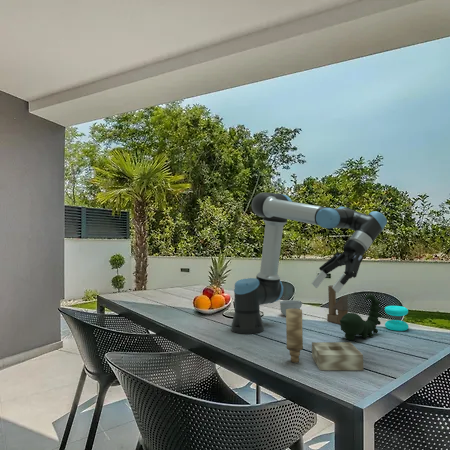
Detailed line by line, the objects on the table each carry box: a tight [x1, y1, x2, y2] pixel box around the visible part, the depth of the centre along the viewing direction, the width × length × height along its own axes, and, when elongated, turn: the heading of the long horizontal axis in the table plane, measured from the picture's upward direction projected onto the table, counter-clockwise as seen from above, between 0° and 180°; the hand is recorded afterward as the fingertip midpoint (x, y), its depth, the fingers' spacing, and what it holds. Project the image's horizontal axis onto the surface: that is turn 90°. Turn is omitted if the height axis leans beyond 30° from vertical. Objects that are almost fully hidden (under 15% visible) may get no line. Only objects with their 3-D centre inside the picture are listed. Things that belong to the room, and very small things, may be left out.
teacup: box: [279, 299, 303, 317], centre depth 205 cm, size 14×11×8 cm
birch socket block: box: [311, 341, 364, 371], centre depth 130 cm, size 14×14×5 cm
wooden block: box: [326, 284, 349, 325], centre depth 187 cm, size 4×11×18 cm, turn 29°
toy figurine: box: [339, 293, 383, 341], centre depth 161 cm, size 9×19×25 cm
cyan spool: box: [384, 305, 409, 332], centre depth 174 cm, size 10×10×10 cm
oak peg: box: [285, 308, 304, 364], centre depth 132 cm, size 6×6×18 cm
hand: (323, 287), depth 137 cm, fingers open, 13 cm apart
